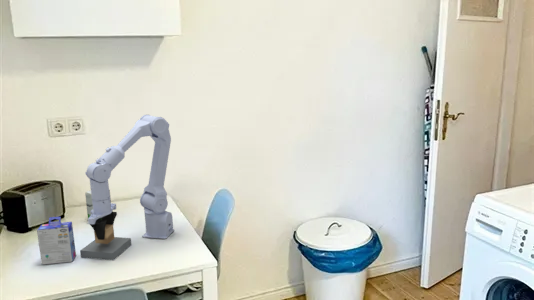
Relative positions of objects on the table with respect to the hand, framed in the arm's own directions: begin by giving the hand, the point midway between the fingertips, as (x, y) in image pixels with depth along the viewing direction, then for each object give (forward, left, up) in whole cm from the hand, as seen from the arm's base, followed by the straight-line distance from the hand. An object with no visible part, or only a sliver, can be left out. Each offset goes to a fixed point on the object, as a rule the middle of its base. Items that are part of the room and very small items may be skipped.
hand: (105, 236), depth 159 cm
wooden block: (0, 0, -2) cm, 2 cm away
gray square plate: (0, 0, -6) cm, 6 cm away
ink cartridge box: (+12, +9, -6) cm, 16 cm away
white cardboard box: (+19, -28, -6) cm, 34 cm away
